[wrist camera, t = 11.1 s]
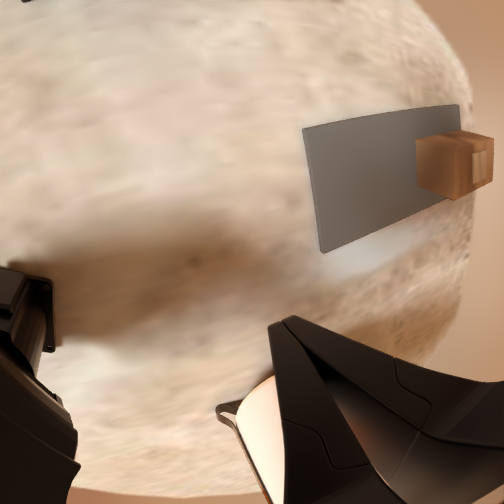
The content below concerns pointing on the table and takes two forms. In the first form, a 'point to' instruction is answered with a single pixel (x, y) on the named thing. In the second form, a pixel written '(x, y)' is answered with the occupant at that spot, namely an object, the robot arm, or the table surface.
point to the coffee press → (261, 437)
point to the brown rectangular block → (454, 163)
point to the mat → (370, 170)
